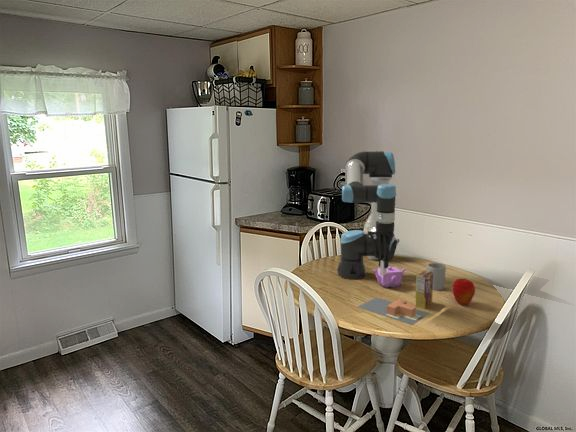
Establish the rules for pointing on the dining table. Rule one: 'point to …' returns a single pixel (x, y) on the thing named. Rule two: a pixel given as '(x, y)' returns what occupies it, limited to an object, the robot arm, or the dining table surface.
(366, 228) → the vase
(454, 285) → the apple
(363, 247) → the robot arm
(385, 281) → the teapot
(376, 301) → the plate
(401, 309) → the t block
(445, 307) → the dining table surface
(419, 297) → the candy box
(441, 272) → the mug
